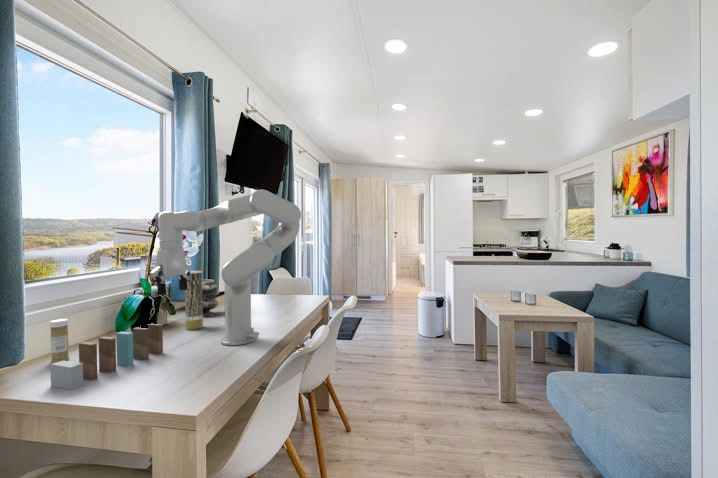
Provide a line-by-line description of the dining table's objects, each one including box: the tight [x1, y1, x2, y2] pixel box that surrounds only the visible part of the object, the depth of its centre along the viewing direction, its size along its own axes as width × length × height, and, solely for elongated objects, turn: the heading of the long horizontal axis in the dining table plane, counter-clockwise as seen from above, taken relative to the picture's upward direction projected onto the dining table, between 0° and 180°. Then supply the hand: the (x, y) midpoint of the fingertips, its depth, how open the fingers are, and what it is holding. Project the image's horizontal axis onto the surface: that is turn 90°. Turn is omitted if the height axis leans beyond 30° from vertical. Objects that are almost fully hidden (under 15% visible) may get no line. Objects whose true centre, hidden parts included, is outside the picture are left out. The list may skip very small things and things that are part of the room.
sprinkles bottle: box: [49, 318, 70, 364], centre depth 114 cm, size 5×5×14 cm
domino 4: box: [132, 326, 150, 361], centre depth 115 cm, size 2×5×10 cm, turn 72°
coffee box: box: [139, 289, 168, 326], centre depth 157 cm, size 9×6×16 cm
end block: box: [49, 360, 84, 391], centre depth 94 cm, size 8×3×6 cm, turn 72°
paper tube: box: [184, 270, 204, 331], centre depth 152 cm, size 7×7×25 cm
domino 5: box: [147, 323, 164, 355], centre depth 120 cm, size 2×5×10 cm, turn 71°
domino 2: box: [98, 336, 117, 373], centre depth 104 cm, size 2×5×10 cm, turn 71°
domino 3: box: [115, 331, 134, 367], centre depth 110 cm, size 2×5×10 cm, turn 71°
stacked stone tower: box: [202, 279, 219, 318], centre depth 178 cm, size 12×12×18 cm
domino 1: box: [78, 341, 99, 381], centre depth 99 cm, size 2×5×10 cm, turn 71°
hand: (173, 292), depth 127 cm, fingers open, 9 cm apart
